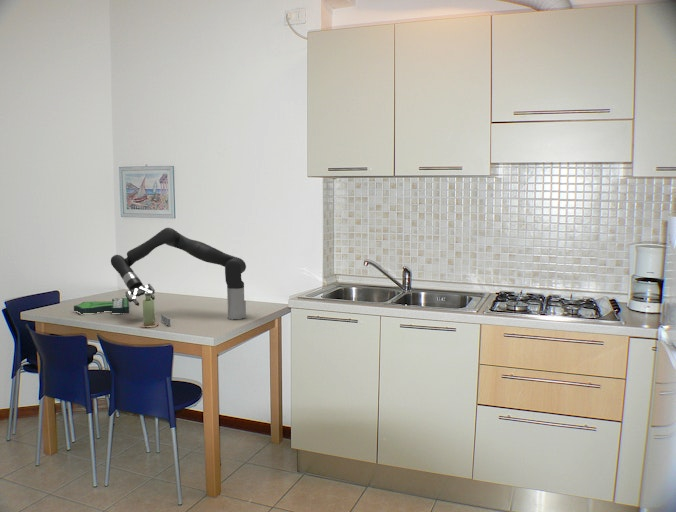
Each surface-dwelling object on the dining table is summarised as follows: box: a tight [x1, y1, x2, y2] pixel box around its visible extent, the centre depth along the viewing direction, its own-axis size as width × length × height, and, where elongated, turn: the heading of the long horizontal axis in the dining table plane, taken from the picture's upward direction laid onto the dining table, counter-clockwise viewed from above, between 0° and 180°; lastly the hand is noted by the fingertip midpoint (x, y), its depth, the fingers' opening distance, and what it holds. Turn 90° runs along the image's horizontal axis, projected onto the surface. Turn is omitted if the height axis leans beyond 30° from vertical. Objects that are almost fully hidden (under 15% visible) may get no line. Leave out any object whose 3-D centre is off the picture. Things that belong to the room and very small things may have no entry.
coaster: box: [139, 322, 159, 328], centre depth 296 cm, size 9×9×1 cm
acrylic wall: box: [160, 313, 171, 327], centre depth 300 cm, size 1×14×4 cm, turn 32°
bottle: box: [142, 293, 156, 326], centre depth 295 cm, size 6×6×17 cm
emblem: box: [73, 297, 130, 314], centre depth 333 cm, size 30×4×30 cm
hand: (146, 302), depth 301 cm, fingers open, 8 cm apart
